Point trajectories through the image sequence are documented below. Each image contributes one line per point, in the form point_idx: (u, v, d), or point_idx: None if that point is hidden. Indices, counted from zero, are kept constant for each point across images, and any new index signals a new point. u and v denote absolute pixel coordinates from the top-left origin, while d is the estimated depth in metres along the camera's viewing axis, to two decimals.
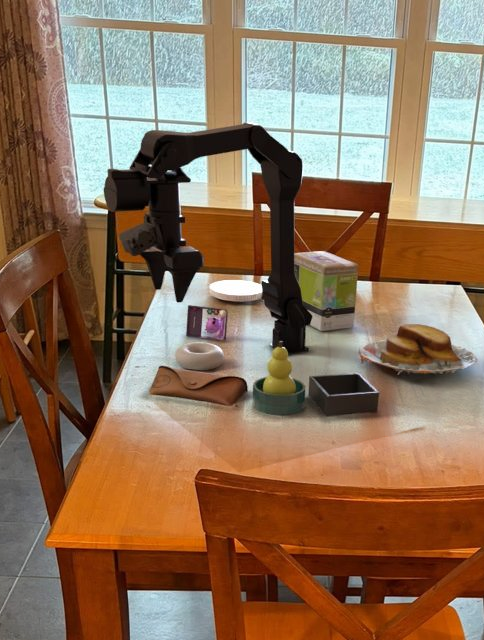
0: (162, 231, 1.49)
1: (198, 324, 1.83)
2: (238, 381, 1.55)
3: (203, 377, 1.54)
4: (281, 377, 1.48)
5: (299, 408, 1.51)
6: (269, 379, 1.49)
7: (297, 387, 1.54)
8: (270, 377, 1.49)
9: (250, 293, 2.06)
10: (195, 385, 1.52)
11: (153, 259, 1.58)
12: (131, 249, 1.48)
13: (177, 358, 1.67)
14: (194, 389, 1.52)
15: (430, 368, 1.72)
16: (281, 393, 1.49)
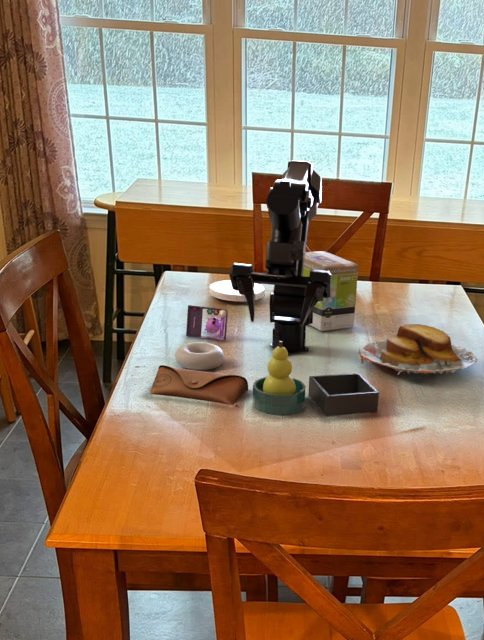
0: None
1: (198, 324, 1.83)
2: (239, 380, 1.55)
3: (204, 376, 1.54)
4: (281, 377, 1.48)
5: (299, 408, 1.51)
6: (269, 379, 1.49)
7: (297, 387, 1.54)
8: (270, 377, 1.49)
9: None
10: (196, 384, 1.53)
11: None
12: (289, 254, 1.47)
13: (177, 358, 1.67)
14: (195, 388, 1.52)
15: (430, 368, 1.72)
16: (281, 393, 1.49)
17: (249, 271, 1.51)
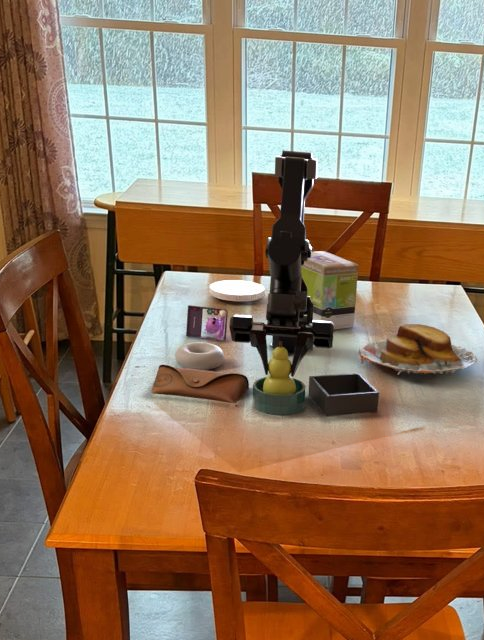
0: None
1: (198, 324, 1.83)
2: (240, 379, 1.56)
3: (205, 375, 1.55)
4: (281, 377, 1.48)
5: (299, 408, 1.51)
6: (269, 379, 1.49)
7: (297, 387, 1.54)
8: (270, 377, 1.49)
9: (250, 293, 2.06)
10: (198, 383, 1.53)
11: (266, 343, 1.49)
12: (292, 305, 1.43)
13: (177, 358, 1.67)
14: (197, 387, 1.53)
15: (430, 368, 1.72)
16: (281, 393, 1.49)
17: (250, 323, 1.47)
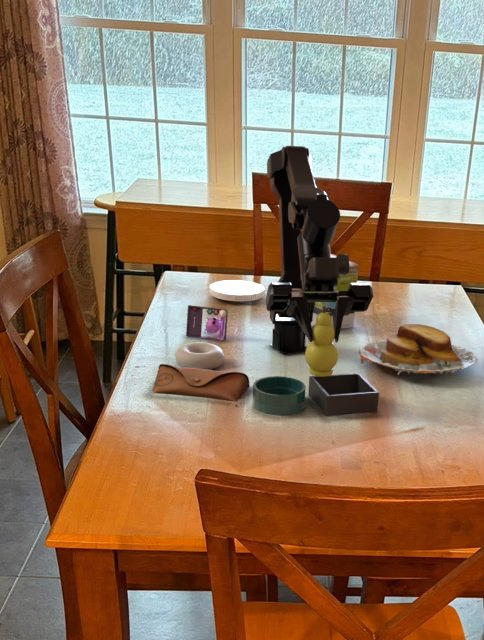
0: None
1: (198, 324, 1.83)
2: (241, 377, 1.57)
3: (206, 374, 1.55)
4: (326, 343, 1.46)
5: (299, 408, 1.51)
6: (314, 347, 1.47)
7: (297, 387, 1.54)
8: (314, 344, 1.47)
9: (250, 293, 2.06)
10: (199, 382, 1.54)
11: None
12: (337, 268, 1.41)
13: (177, 358, 1.67)
14: (198, 386, 1.53)
15: (430, 368, 1.72)
16: (328, 359, 1.47)
17: (291, 289, 1.44)
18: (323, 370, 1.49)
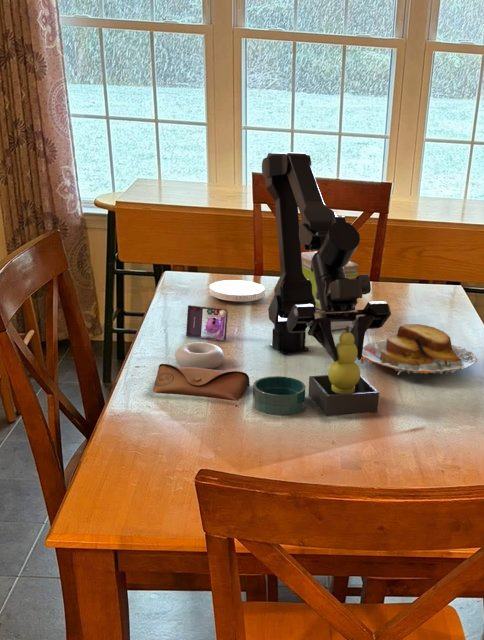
0: None
1: (198, 324, 1.83)
2: (241, 376, 1.57)
3: (207, 373, 1.55)
4: (351, 362, 1.50)
5: (299, 408, 1.51)
6: (338, 366, 1.50)
7: (297, 387, 1.54)
8: (338, 363, 1.50)
9: (250, 293, 2.06)
10: (200, 381, 1.54)
11: None
12: (360, 289, 1.45)
13: (177, 358, 1.67)
14: (199, 385, 1.54)
15: (430, 368, 1.72)
16: (353, 377, 1.50)
17: (314, 311, 1.46)
18: (347, 388, 1.52)
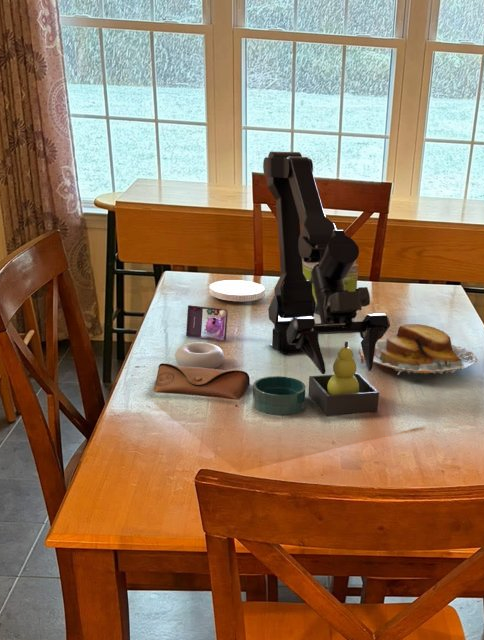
0: None
1: (198, 324, 1.83)
2: (241, 375, 1.57)
3: (207, 373, 1.56)
4: (349, 377, 1.51)
5: (299, 408, 1.51)
6: (337, 381, 1.51)
7: (297, 387, 1.54)
8: (337, 378, 1.52)
9: (250, 293, 2.06)
10: (201, 381, 1.54)
11: None
12: (360, 302, 1.46)
13: (177, 358, 1.67)
14: (200, 385, 1.54)
15: (430, 368, 1.72)
16: (351, 392, 1.52)
17: (314, 323, 1.48)
18: None
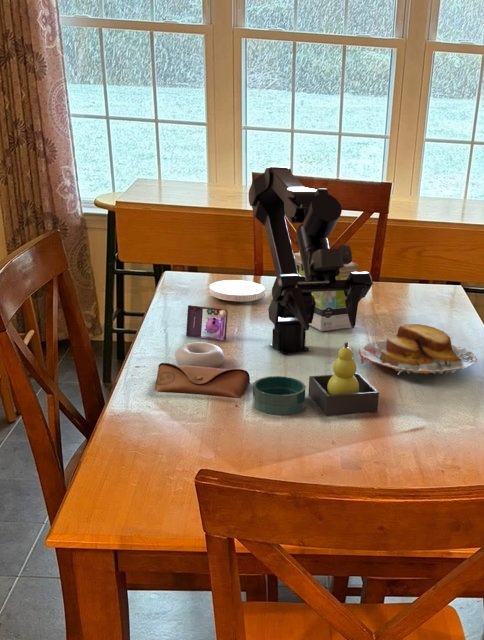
0: None
1: (198, 324, 1.83)
2: (242, 374, 1.58)
3: (208, 372, 1.56)
4: (349, 377, 1.51)
5: (299, 408, 1.51)
6: (337, 381, 1.51)
7: (297, 387, 1.54)
8: (337, 378, 1.52)
9: (250, 293, 2.06)
10: (202, 380, 1.55)
11: None
12: (342, 259, 1.50)
13: (177, 358, 1.67)
14: (201, 384, 1.54)
15: (430, 368, 1.72)
16: (351, 392, 1.52)
17: (298, 280, 1.52)
18: None
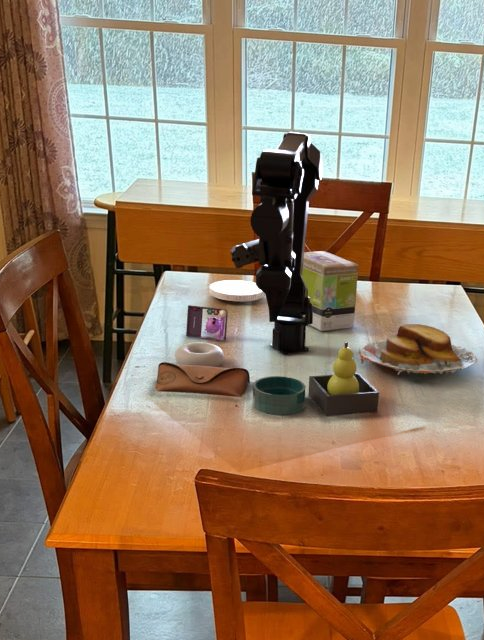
0: (266, 249, 1.51)
1: (198, 324, 1.83)
2: (242, 373, 1.59)
3: (209, 371, 1.57)
4: (349, 377, 1.51)
5: (299, 408, 1.51)
6: (337, 381, 1.51)
7: (297, 387, 1.54)
8: (337, 378, 1.52)
9: (250, 293, 2.06)
10: (203, 379, 1.55)
11: None
12: (234, 261, 1.52)
13: (177, 358, 1.67)
14: (202, 383, 1.55)
15: (430, 368, 1.72)
16: (351, 392, 1.52)
17: None
18: None
